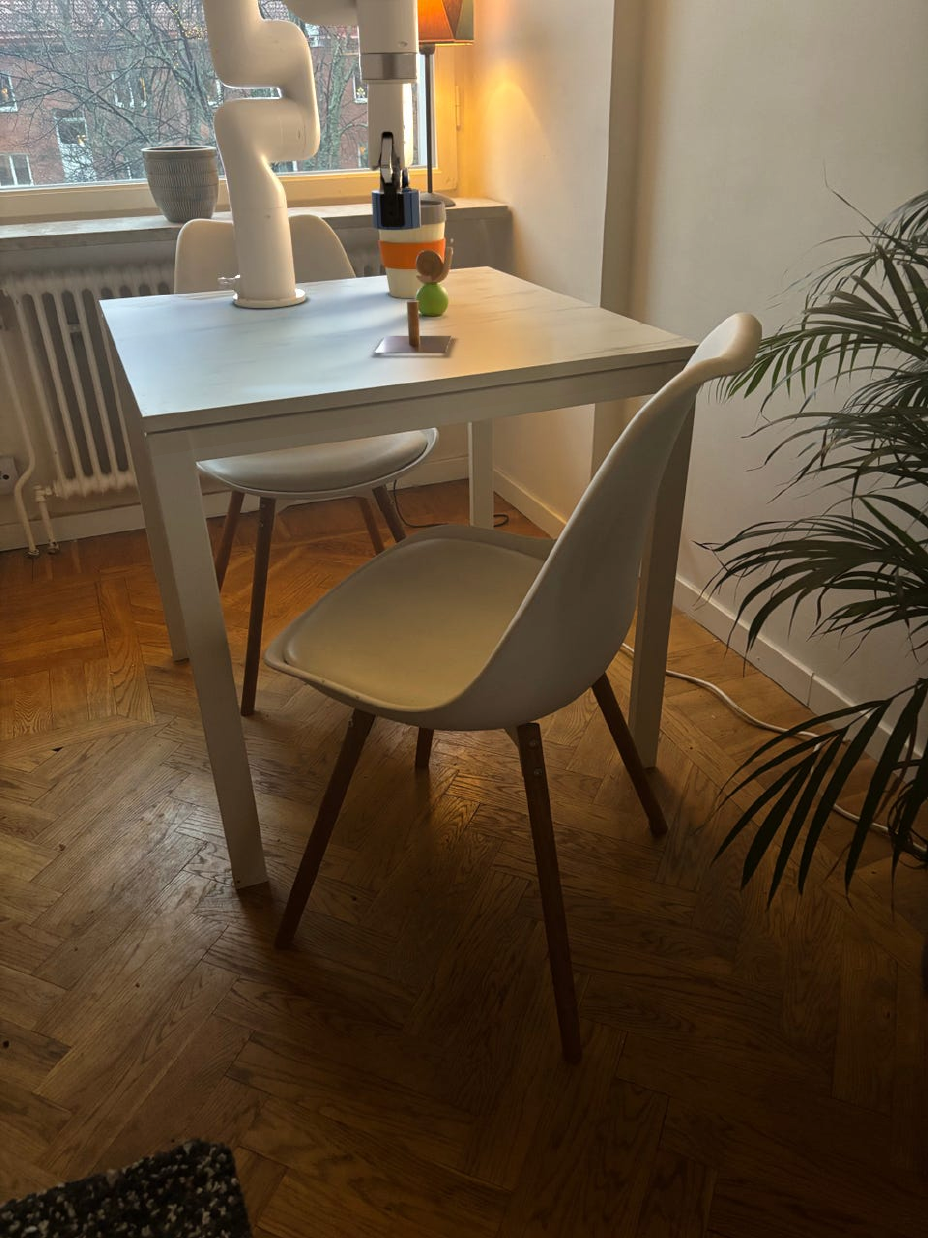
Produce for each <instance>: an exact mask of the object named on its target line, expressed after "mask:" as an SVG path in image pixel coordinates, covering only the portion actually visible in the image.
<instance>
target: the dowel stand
mask: <svg viewBox="0 0 928 1238" xmlns="http://www.w3.org/2000/svg"><path fill="white" fill-rule="evenodd" d="M406 313H407V314H406V315H407V334H408V335H384V337H383V339H382V340H381V342H380V344H379V345H378V347H377V348H376V350H375V352H374V353H375V354H446V353H447V350H448V348H449V344H450V342H451V340H452V337H453V336H452V335H420V314H419V313H420V312H419V310H418V301H417V300H415V299H409V300H407V301H406Z"/></svg>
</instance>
